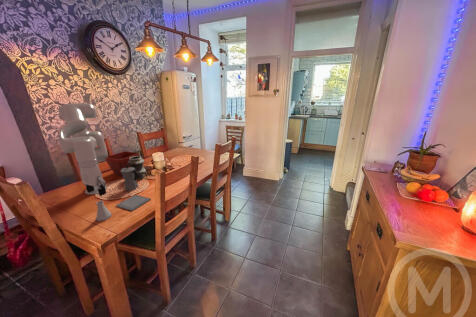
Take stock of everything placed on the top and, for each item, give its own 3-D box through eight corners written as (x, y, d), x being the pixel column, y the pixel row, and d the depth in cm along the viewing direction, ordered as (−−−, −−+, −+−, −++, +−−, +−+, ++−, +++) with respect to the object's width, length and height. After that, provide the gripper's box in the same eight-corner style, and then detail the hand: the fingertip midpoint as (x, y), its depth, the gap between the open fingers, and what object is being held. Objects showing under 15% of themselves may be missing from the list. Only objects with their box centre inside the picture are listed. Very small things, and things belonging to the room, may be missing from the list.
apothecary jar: (145, 179, 149) (141, 159, 143) (128, 181, 146) (124, 160, 140) (148, 173, 160) (144, 154, 154) (133, 175, 157) (129, 155, 151)
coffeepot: (120, 188, 134) (114, 166, 128) (131, 183, 142) (127, 162, 136) (133, 193, 127) (128, 170, 122) (145, 187, 135) (141, 165, 130)
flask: (101, 213, 105) (97, 199, 102) (114, 213, 106) (110, 198, 103) (93, 222, 98) (88, 206, 95) (106, 221, 99) (102, 205, 96)
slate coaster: (116, 206, 112) (115, 205, 112) (135, 195, 125) (135, 194, 124) (132, 211, 107) (132, 210, 107) (150, 199, 120) (150, 198, 119)
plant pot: (108, 175, 157) (103, 156, 152) (128, 167, 174) (125, 151, 168) (123, 178, 150) (119, 159, 145) (142, 170, 167) (139, 153, 161)
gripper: (69, 163, 91) (79, 193, 96) (91, 167, 85) (100, 199, 90) (85, 159, 98) (94, 187, 103) (107, 162, 92) (114, 192, 97)
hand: (97, 193), depth 97 cm, fingers open, 9 cm apart
